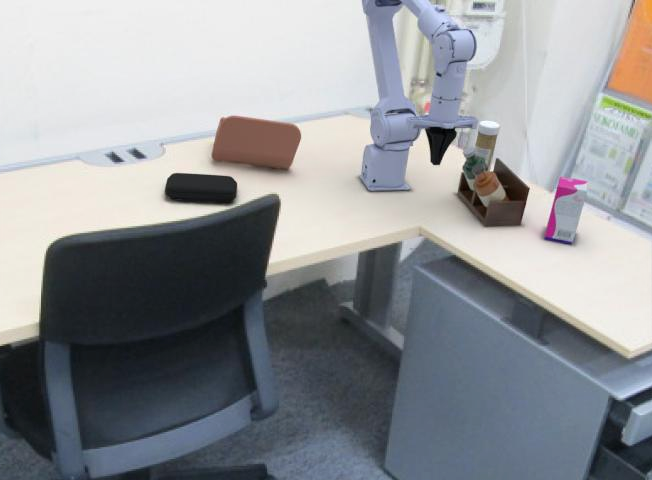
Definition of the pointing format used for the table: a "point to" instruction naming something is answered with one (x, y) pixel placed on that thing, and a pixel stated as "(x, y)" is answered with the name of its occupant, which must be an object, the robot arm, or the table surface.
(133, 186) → the table surface
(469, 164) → the dark green bottle
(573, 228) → the supplement box
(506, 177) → the rack
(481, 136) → the sprinkles bottle
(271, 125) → the brown block
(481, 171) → the amber bottle
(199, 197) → the carrying case
